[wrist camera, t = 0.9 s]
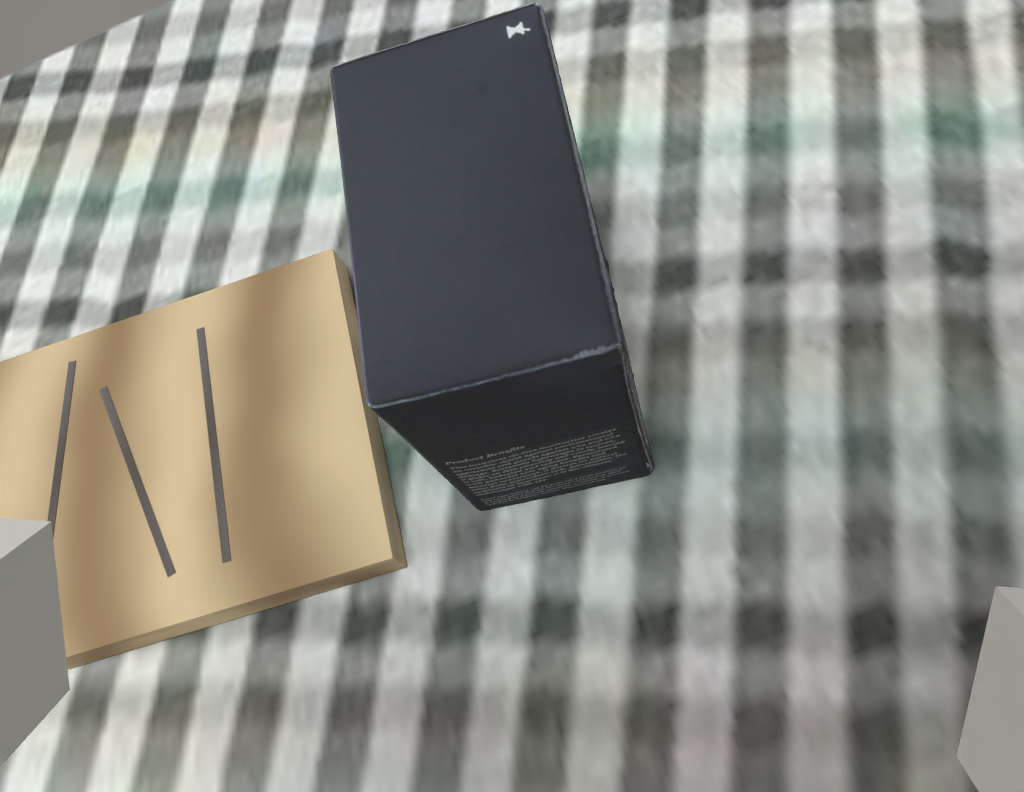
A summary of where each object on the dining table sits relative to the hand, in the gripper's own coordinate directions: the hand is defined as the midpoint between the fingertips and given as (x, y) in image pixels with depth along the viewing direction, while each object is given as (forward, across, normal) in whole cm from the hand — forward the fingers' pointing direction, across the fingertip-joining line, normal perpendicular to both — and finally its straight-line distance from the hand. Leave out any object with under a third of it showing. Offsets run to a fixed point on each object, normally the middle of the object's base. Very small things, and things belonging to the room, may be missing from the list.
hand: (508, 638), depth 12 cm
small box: (+19, 0, -1) cm, 19 cm away
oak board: (+18, -15, -6) cm, 24 cm away
